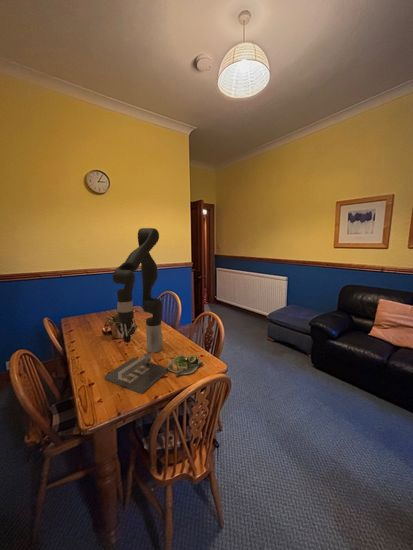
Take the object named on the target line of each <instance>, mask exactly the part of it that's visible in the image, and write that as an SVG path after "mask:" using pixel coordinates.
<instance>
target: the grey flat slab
mask: <svg viewBox="0 0 413 550" xmlns="http://www.w3.org/2000/svg"><path fill="white" fill-rule="evenodd" d="M138 359H139V358H137V357H132V358H130V359H128V360H127V361H125V362H124V363H122V364H121V365H119V366H118V367H116V368H114V369H112V370H111V371H109V372H108V373H106V374H105V375H104V380H105V381H108V382H109V383H113V384H116V385H118V386H120V387H123V388H125V389H128V390H131V391H133V392H136V393H138V394H140V393H141V395H143V394H142V393H146V392H147V391H148V389H150V388H149V387H152V386H153V385H155V383H156V382H158V381H159V380H160V379H161V378H162V377H164V376H165V375H166V374H167V373H168V372H169V370H168V368H167V366H166V367H165V366H162V365H160V364H156V363H153V362H151V361H149V362H146V363H145V364H144V365H142V366H141V367H139V368H138V369H136V370H135V371H134V372H132V373H131V374H129V375H128V376H127V377H125V378H124V379H119V378H118V372H119V371H121V370H122V369H124V368H125V367H127V366H129V365H130V364H132V363H133V362H135V361H136V360H138Z"/></svg>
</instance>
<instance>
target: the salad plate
mask: <svg viewBox="0 0 413 550" xmlns="http://www.w3.org/2000/svg"><path fill="white" fill-rule="evenodd" d="M185 358H187V360H185ZM174 363H175V364H174ZM173 364H174V365H176V367H177V369H174V367H173V366H174V365H173ZM203 364H204V361H201V360H200V359H199V358H198V356H197V355H195V354H191V355H189V356H188V355H184V354H183V355H182V354H181V355H177V356H175V357H174V358H173V359H172V360H171V361H169V363H167V364H166V365H167V366H166V368H168V372H171V373H173V374H175V377H177V376H182V375H190V374H193V373H195V371H197V369H198V368H199V367H200V366H202V365H203Z"/></svg>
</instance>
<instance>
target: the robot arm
mask: <svg viewBox="0 0 413 550" xmlns="http://www.w3.org/2000/svg"><path fill="white" fill-rule="evenodd" d="M159 238H160V233H159V231H158V229H157V228H154V227H153V228H151V227H146V228H145V227H142V228H139V229H138V231H137V242H138V247H137V248H135V249H134V250H133V251H132V252H130V254H129V255H128V256H127V258H126V259H125V261H124V262H123V263H121V265H119V266H118V267H117V268H116V269H115V270H114V271H113V272H112V273H113V274H112V277H111V278H112V281H113V282H114V283H115V284H117V285H124V286H123V287H122V288H119V289H118V290H117V291H116V292H117V293H116V294H117V306H116V307H117V308H116V309H117V319H118V322H115V326H116V328H117V330H118V332H119V334H122V337H123V338H122V340H123V343H127V344H129V343H130V342H131V341H132V339H131V336H132V335H134V334H135V332H136V330H137V328H138V325H137V324H136V325H135V324H134V316H135V315H134V314H135V313H134V302H133V289H134V284H135V282H136V275H135V273H134V272H136V271H137V270H138V268H139V267H140V266H141V267H140V270H141V271H140V272H141V279H142V280H141V282H142V311H144V313H148V314H152V316H150V317H148V318H146V320H145V326H146V327H145V330H146V331H145V332H146V333H145V334H146V335H145V336H146V351H147V353H150V354H155V353H159V352H161V351H162V349H163V346H164V344H163V343H164V342H163V333H162V318H163V302H162V300H161V298H155V297H152V290H153V288H154V286H155V284H156V282H157V280H158V276H159V275H158V266H157V263H156V261H155V260H154V259H153V257H152V255H151V254H150V252H151V250H152V249H153V248H154V247H155V246H156V245H157V244H158V242H159Z"/></svg>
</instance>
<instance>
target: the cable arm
mask: <svg viewBox="0 0 413 550" xmlns="http://www.w3.org/2000/svg"><path fill="white" fill-rule="evenodd" d="M137 359H138V360H136V361H135V362H133V363H132V364H130V365H129V366H127V367H125V368H124V369H122V370H121V371H119V372H118V378H119V379H124V378H125V377H127V376H128V375H129V374H131V373H132V372H134V371H135V370H136V369H138V368H139V367H141V366H142V365H144V364H145V363H146V362H151V361H152V353H150V352H147V353H144V354H143V355H142V356H141V357H139V358H137Z"/></svg>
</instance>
